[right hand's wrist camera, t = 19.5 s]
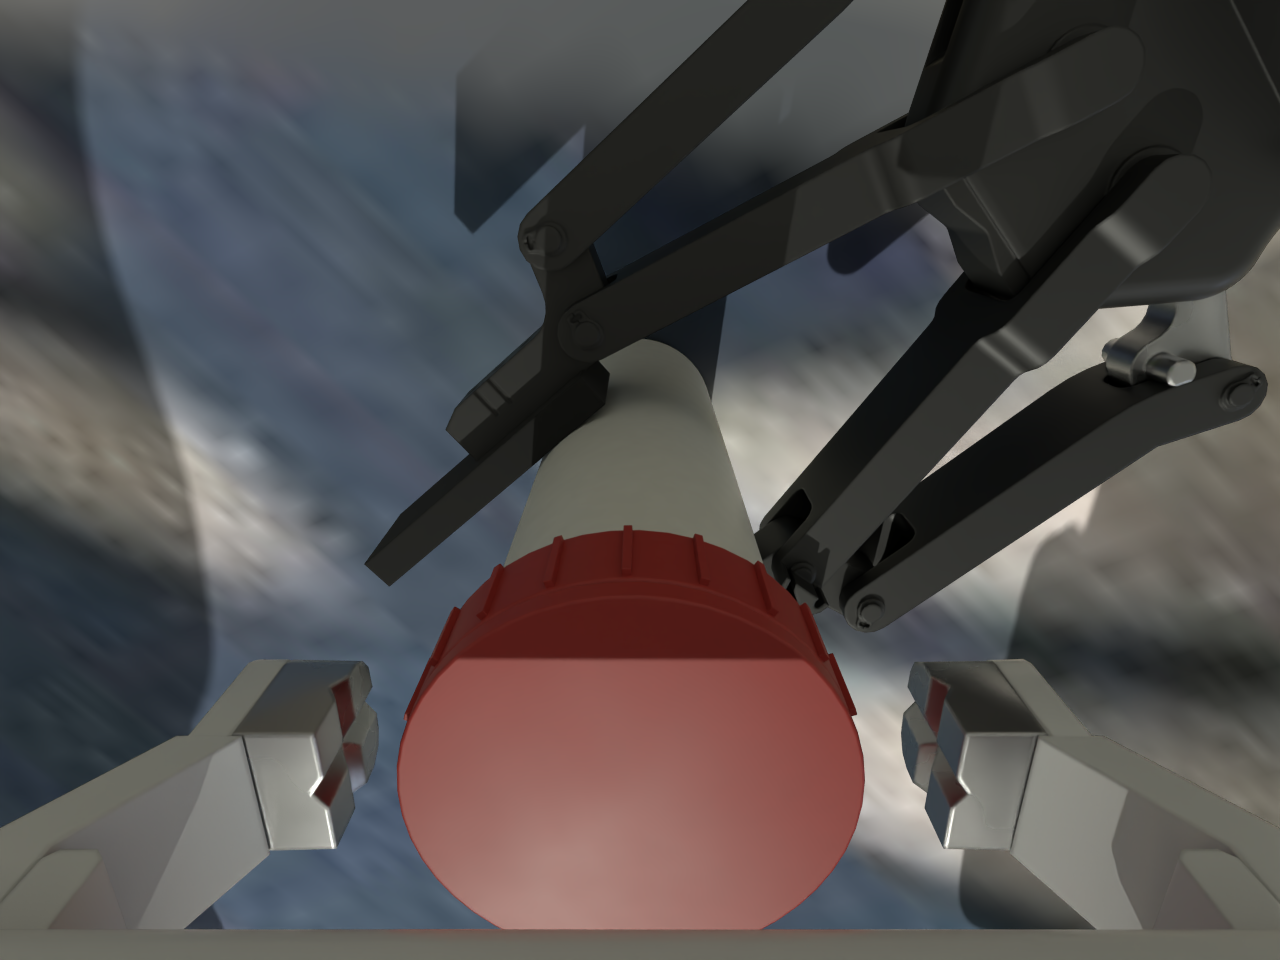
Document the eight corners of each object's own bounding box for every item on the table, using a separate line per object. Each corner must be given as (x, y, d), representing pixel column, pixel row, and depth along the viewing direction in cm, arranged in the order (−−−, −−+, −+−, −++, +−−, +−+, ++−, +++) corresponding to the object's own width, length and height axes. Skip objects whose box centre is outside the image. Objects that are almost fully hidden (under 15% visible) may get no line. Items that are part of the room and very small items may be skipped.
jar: (722, 461, 24) (837, 855, 10) (585, 491, 25) (508, 911, 10) (693, 322, 23) (782, 559, 8) (547, 357, 23) (396, 638, 9)
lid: (729, 448, 9) (747, 504, 7) (895, 773, 11) (938, 872, 9) (346, 634, 10) (291, 718, 8) (558, 903, 12) (546, 1013, 10)
